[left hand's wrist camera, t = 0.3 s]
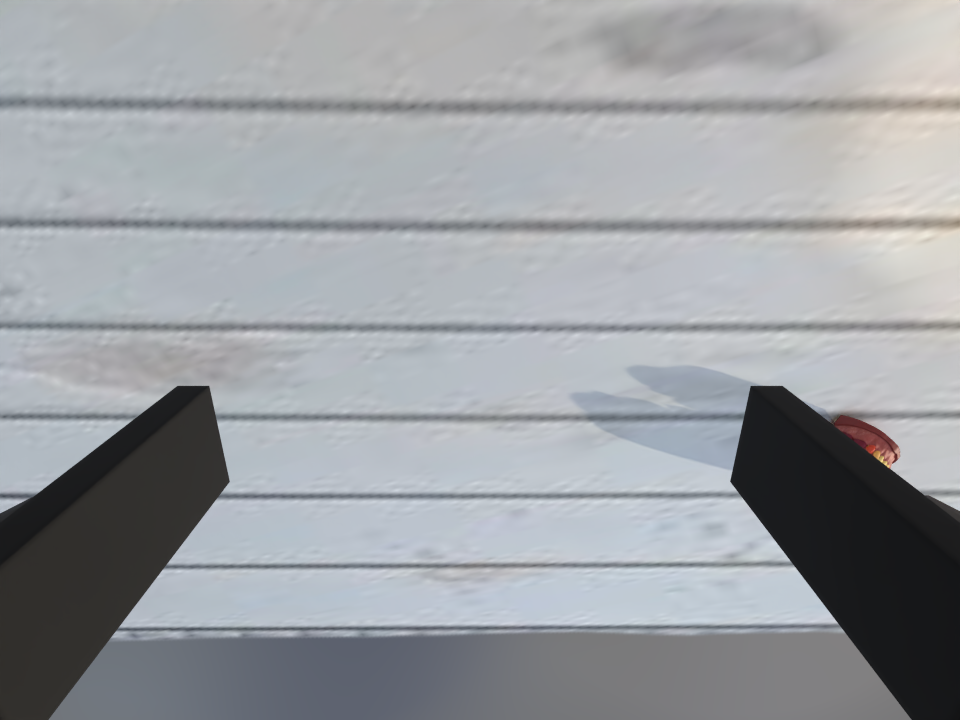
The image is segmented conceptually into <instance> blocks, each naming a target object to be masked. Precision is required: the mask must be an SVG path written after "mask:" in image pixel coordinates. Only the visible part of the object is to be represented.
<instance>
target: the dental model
mask: <svg viewBox="0 0 960 720" xmlns="http://www.w3.org/2000/svg"><path fill="white" fill-rule="evenodd" d="M834 426H835V427H836V428H838V429H839V430H840V431H842V432H843V433H844V434H845V435H847V436H848V437H849V438H851V439H852V440H853V441H855V442H856V443H857V444H858V445H860V446H861V447H862V448H864V449H865V450H866V451H867V452H869V453H870V454H871V455H873V456H874V457H875V458H877V459H878V460H879V461H880V462H882V463H883V464H884V465H886V466H887V467H888V468H890V467H891V465H892V464H893V463H894V462H896V461H897V460H898V458H899V457H900V449H899V447H898V445H897V444H896V443H895V442H894V441H893V440H892V439H890V438H889V437H888V436H887V435H886V434H885V433H883V432H882V431H880V430H879V429H877V428H875V427H873V426H872V425H869V424H867V423H865V422H863V421H860V420H858V419H855V418H851V417H848V416H843V415H841V416H840V417H839V418H838V419H837V421H836V422H835V423H834Z"/></svg>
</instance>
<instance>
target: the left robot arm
mask: <svg viewBox="0 0 960 720" xmlns="http://www.w3.org/2000/svg"><path fill="white" fill-rule="evenodd" d="M229 482H230V481H229V476H228V472H227V467H226V462H225V458H224V453H223V448H222V444H221V439H220V434H219V430H218V425H217V420H216V416H215V411H214V406H213V402H212V397H211V392H210V388H209V386H177V387H176V388H174V389H173V390H172V391H170V392H169V393H168V394H167V395H165V396H164V397H163V398H161V399H160V400H159V401H157V402H156V403H155V404H154V405H152V406H151V407H150V408H148V409H147V410H146V411H144V412H143V413H142V414H141V415H139V416H138V417H137V418H135V419H134V420H133V421H131V422H130V423H129V424H128V425H126V426H125V427H124V428H122V429H121V430H120V431H118V432H117V433H116V434H115V435H113V436H112V437H111V438H109V439H108V440H107V441H105V442H104V443H103V444H102V445H100V446H99V447H98V448H96V449H95V450H94V451H92V452H91V453H90V454H89V455H87V456H86V457H85V458H83V459H82V460H81V461H80V462H78V463H77V464H76V465H74V466H73V467H72V468H70V469H69V470H68V471H67V472H65V473H64V474H63V475H61V476H60V477H59V478H57V479H56V480H55V481H54V482H52V483H51V484H50V485H48V486H47V487H46V488H44V489H43V490H42V491H41V492H39V493H38V494H37V495H35V496H34V497H32V498H30V499H28V500H26V501H24V502H22V503H20V504H18V505H16V506H14V507H12V508H10V509H8V510H6V511H4V512H2V513H0V720H48V719H49V718H50V717H51V715H52V714H53V713H54V712H55V710H56V709H57V708H58V706H59V705H60V704H61V702H62V701H63V700H64V698H65V697H66V696H67V694H68V693H69V692H70V690H71V689H72V688H73V687H74V685H75V684H76V683H77V681H78V680H79V679H80V677H81V676H82V675H83V673H84V672H85V671H86V670H87V668H88V667H89V666H90V664H91V663H92V662H93V660H94V659H95V658H96V656H97V655H98V654H99V652H100V651H101V650H102V649H103V647H104V646H105V645H106V643H107V642H108V641H109V639H110V638H111V637H112V635H113V634H114V633H115V631H116V630H117V629H118V628H119V626H120V625H121V624H122V622H123V621H124V620H125V618H126V617H127V616H128V614H129V613H130V612H131V610H132V609H133V608H134V607H135V605H136V604H137V603H138V601H139V600H140V599H141V597H142V596H143V595H144V593H145V592H146V591H147V589H148V588H149V587H150V586H151V584H152V583H153V582H154V580H155V579H156V578H157V576H158V575H159V574H160V572H161V571H162V570H163V568H164V567H165V566H166V565H167V563H168V562H169V561H170V559H171V558H172V557H173V555H174V554H175V553H176V551H177V550H178V549H179V547H180V546H181V545H182V544H183V542H184V541H185V540H186V538H187V537H188V536H189V534H190V533H191V532H192V530H193V529H194V528H195V527H196V525H197V524H198V523H199V521H200V520H201V519H202V517H203V516H204V515H205V513H206V512H207V511H208V509H209V508H210V507H211V506H212V504H213V503H214V502H215V500H216V499H217V498H218V496H219V495H220V494H221V492H222V491H223V490H224V488H225V487H226V486H227V485H228V483H229ZM730 482H731V483H732V485H733V486H734V487H735V488H736V490H737V491H738V492H739V494H740V495H741V496H742V498H743V499H744V500H745V502H746V503H747V504H748V506H749V507H750V508H751V509H752V511H753V512H754V513H755V515H756V516H757V517H758V519H759V520H760V521H761V523H762V524H763V525H764V527H765V528H766V529H767V530H768V532H769V533H770V534H771V536H772V537H773V538H774V540H775V541H776V542H777V544H778V545H779V546H780V548H781V549H782V550H783V551H784V553H785V554H786V555H787V557H788V558H789V559H790V561H791V562H792V563H793V565H794V566H795V567H796V568H797V570H798V571H799V572H800V574H801V575H802V576H803V578H804V579H805V580H806V582H807V583H808V584H809V586H810V587H811V588H812V589H813V591H814V592H815V593H816V595H817V596H818V597H819V599H820V600H821V601H822V603H823V604H824V605H825V607H826V608H827V609H828V610H829V612H830V613H831V614H832V616H833V617H834V618H835V620H836V621H837V622H838V624H839V625H840V626H841V628H842V629H843V630H844V631H845V633H846V634H847V635H848V637H849V638H850V639H851V641H852V642H853V643H854V645H855V646H856V647H857V649H858V650H859V651H860V652H861V654H862V655H863V656H864V658H865V659H866V660H867V662H868V663H869V664H870V666H871V667H872V668H873V670H874V671H875V672H876V673H877V675H878V676H879V677H880V679H881V680H882V681H883V683H884V684H885V685H886V687H887V688H888V689H889V691H890V692H891V693H892V694H893V696H894V697H895V698H896V700H897V701H898V702H899V704H900V705H901V706H902V708H903V709H904V710H905V712H906V713H907V714H908V715H909V717H910V718H911V719H912V720H960V511H958V510H956V509H954V508H952V507H950V506H948V505H946V504H944V503H943V502H941V501H939V500H937V499H935V498H933V497H931V496H925V495H923V494H922V493H921V492H919V491H918V490H917V489H916V488H914V487H913V486H912V485H910V484H909V483H908V482H906V481H905V480H904V479H903V478H901V477H900V476H899V475H897V474H896V473H895V472H893V471H892V470H891V469H890V468H888V467H887V466H886V465H884V464H883V463H882V462H880V461H879V460H878V459H877V458H875V457H874V456H873V455H871V454H870V453H869V452H867V451H866V450H865V449H864V448H862V447H861V446H860V445H858V444H857V443H856V442H855V441H853V440H852V439H851V438H849V437H848V436H847V435H845V434H844V433H843V432H842V431H840V430H839V429H838V428H836V427H835V426H834V425H832V424H831V423H830V422H829V421H827V420H826V419H825V418H823V417H822V416H821V415H819V414H818V413H817V412H816V411H814V410H813V409H812V408H810V407H809V406H808V405H806V404H805V403H804V402H803V401H801V400H800V399H799V398H797V397H796V396H795V395H793V394H792V393H791V392H790V391H788V390H787V389H786V388H784V387H783V386H751V388H750V392H749V397H748V402H747V406H746V411H745V416H744V420H743V425H742V430H741V434H740V439H739V444H738V448H737V453H736V458H735V462H734V467H733V472H732V476H731V481H730Z"/></svg>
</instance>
